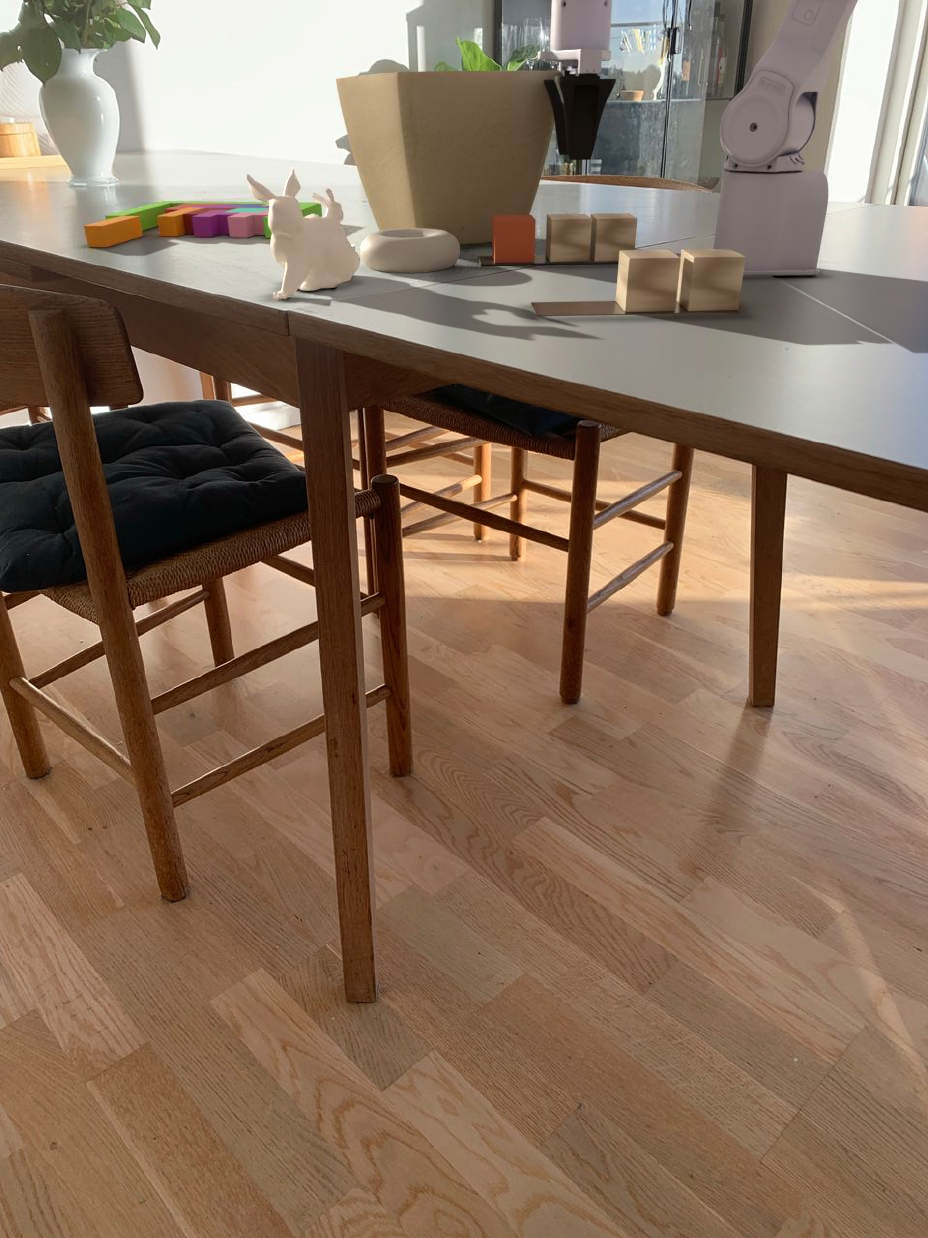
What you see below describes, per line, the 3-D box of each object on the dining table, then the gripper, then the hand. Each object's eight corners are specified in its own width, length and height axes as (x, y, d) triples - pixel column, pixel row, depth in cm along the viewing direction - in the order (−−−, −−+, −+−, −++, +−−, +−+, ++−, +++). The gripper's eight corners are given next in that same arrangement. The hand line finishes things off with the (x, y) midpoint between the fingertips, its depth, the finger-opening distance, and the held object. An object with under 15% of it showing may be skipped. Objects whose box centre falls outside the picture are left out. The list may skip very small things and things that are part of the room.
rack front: (721, 303, 76) (728, 247, 74) (739, 317, 72) (748, 257, 69) (529, 307, 75) (531, 250, 73) (536, 320, 71) (538, 260, 69)
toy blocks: (165, 218, 127) (69, 246, 106) (162, 200, 126) (65, 225, 105) (322, 220, 124) (256, 249, 102) (321, 202, 123) (253, 227, 101)
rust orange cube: (530, 255, 95) (531, 214, 93) (534, 262, 92) (535, 219, 90) (492, 256, 95) (492, 214, 93) (494, 263, 92) (495, 219, 89)
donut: (348, 277, 88) (449, 278, 86) (344, 239, 86) (447, 239, 85) (377, 260, 97) (469, 260, 95) (374, 225, 95) (468, 224, 93)
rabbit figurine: (280, 301, 78) (266, 176, 73) (225, 290, 82) (209, 171, 78) (378, 280, 86) (372, 166, 81) (324, 271, 90) (315, 162, 85)
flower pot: (344, 236, 111) (332, 75, 103) (481, 226, 118) (481, 74, 110) (408, 256, 96) (400, 70, 88) (561, 243, 104) (567, 70, 95)
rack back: (629, 257, 96) (633, 212, 94) (639, 265, 92) (643, 218, 90) (478, 260, 96) (478, 214, 93) (480, 268, 91) (480, 220, 89)
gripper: (531, 2, 92) (528, 152, 99) (549, -11, 80) (543, 162, 87) (601, 1, 93) (592, 151, 100) (629, -11, 80) (617, 161, 87)
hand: (574, 156), depth 93 cm, fingers open, 7 cm apart
